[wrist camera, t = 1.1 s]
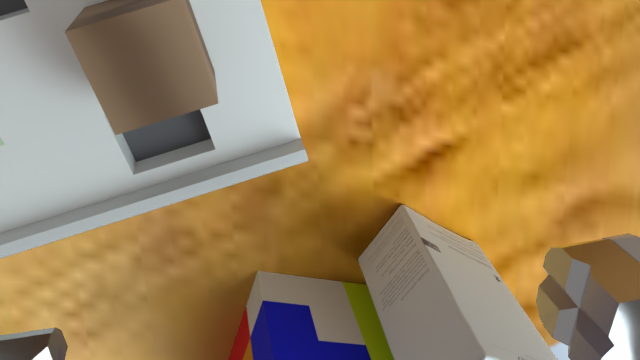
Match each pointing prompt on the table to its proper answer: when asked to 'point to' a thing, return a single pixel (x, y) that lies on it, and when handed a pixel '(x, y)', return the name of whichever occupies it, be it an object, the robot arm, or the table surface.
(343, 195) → the table surface
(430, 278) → the skincare box
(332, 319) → the puzzle toy
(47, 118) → the platform
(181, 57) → the walnut block
